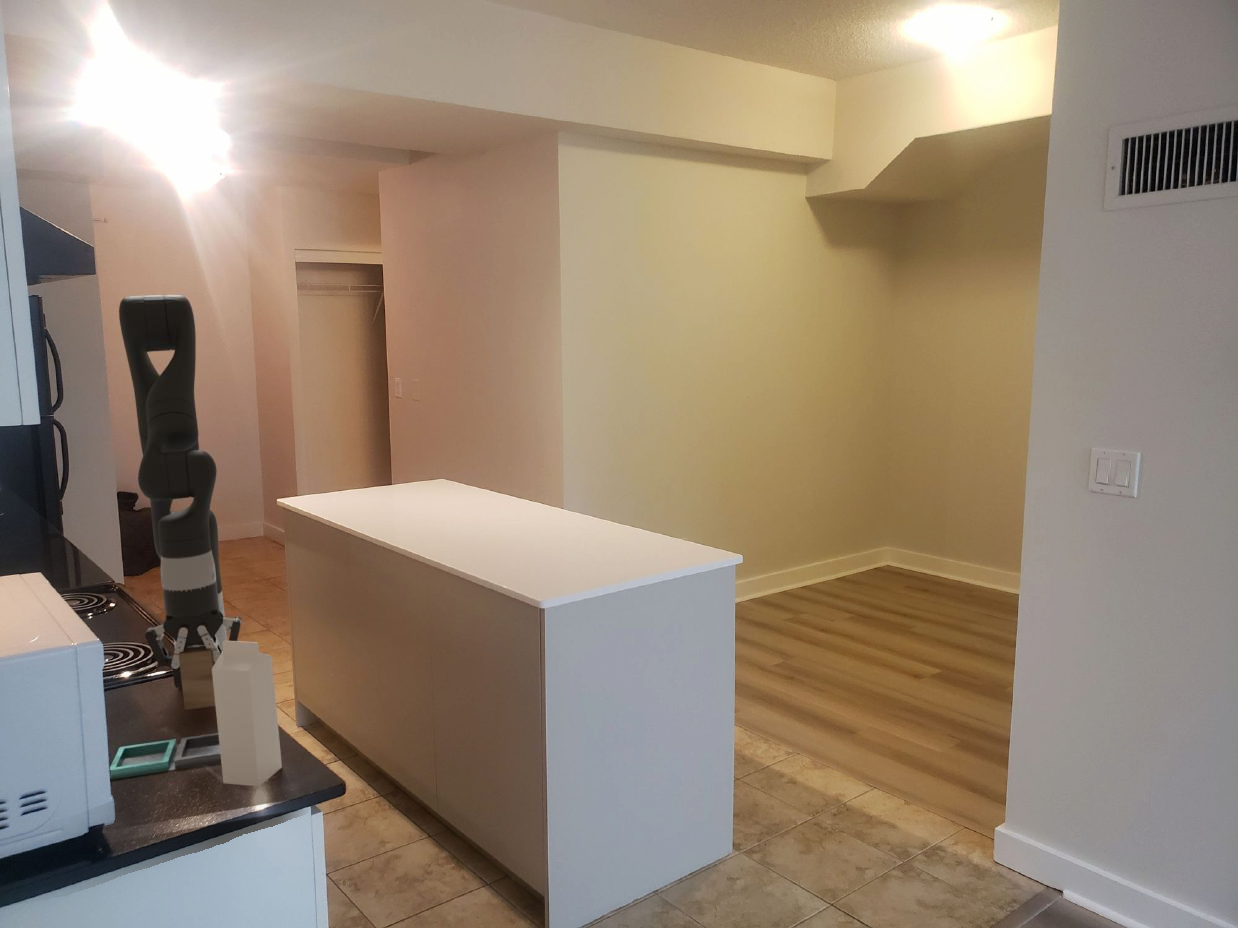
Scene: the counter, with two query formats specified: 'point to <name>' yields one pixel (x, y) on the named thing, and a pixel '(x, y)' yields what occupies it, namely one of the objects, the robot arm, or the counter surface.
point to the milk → (246, 714)
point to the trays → (166, 756)
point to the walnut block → (197, 677)
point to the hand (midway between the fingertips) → (200, 685)
